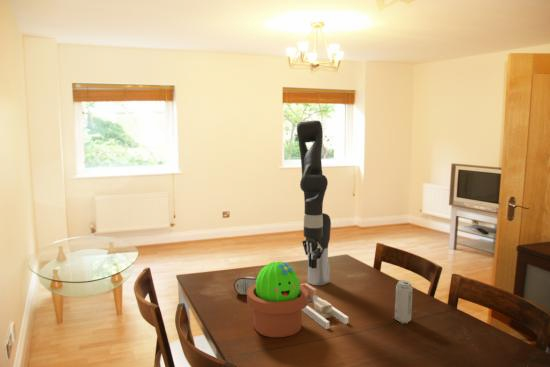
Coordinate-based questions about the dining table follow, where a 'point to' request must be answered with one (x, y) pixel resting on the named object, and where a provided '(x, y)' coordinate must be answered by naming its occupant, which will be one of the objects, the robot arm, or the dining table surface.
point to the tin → (244, 283)
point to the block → (323, 308)
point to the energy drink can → (403, 301)
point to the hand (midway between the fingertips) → (312, 267)
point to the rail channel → (318, 317)
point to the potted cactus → (277, 300)
